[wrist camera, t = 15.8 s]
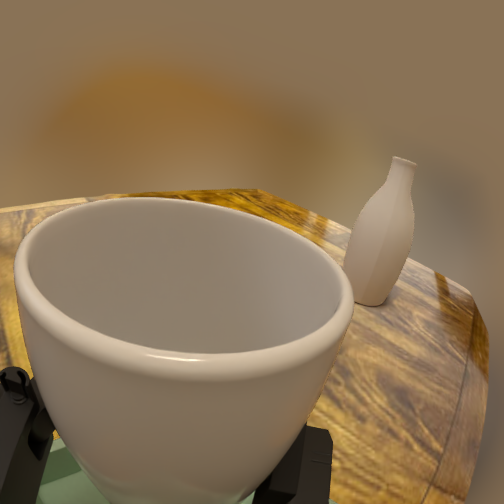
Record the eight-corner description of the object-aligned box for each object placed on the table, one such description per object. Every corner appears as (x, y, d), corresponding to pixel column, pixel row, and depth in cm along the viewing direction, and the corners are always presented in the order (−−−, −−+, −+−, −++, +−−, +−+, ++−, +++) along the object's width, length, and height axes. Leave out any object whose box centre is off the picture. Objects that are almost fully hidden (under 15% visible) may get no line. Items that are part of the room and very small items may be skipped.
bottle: (321, 282, 56) (361, 145, 47) (359, 277, 62) (396, 158, 53) (364, 315, 48) (416, 161, 38) (398, 305, 53) (445, 175, 44)
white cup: (255, 541, 10) (429, 319, 5) (129, 570, 7) (-44, 390, 2) (204, 450, 16) (257, 202, 10) (95, 466, 12) (41, 192, 7)
